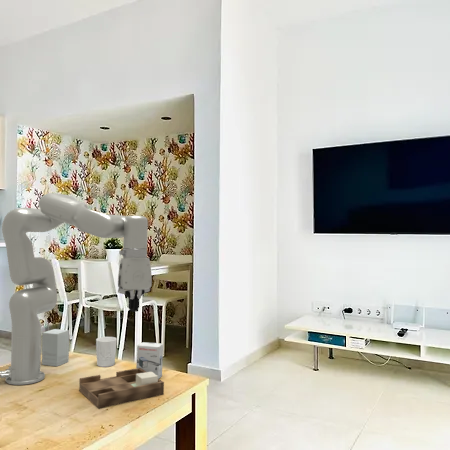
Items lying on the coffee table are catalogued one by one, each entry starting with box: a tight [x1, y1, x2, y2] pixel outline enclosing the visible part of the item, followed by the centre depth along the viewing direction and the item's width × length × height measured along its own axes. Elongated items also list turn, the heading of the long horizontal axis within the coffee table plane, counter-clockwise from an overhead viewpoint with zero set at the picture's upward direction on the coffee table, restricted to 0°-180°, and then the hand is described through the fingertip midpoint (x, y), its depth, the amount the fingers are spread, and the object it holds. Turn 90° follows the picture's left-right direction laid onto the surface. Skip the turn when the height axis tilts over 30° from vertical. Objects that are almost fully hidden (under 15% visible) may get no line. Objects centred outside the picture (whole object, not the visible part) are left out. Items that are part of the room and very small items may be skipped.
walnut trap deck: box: [78, 367, 165, 410], centre depth 147 cm, size 22×18×4 cm
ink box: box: [135, 342, 164, 379], centre depth 163 cm, size 9×5×12 cm, turn 81°
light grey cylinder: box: [95, 336, 118, 368], centre depth 177 cm, size 8×8×10 cm
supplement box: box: [41, 328, 70, 367], centre depth 177 cm, size 7×7×13 cm
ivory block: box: [136, 372, 158, 386], centre depth 147 cm, size 6×6×4 cm
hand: (133, 310), depth 145 cm, fingers closed
